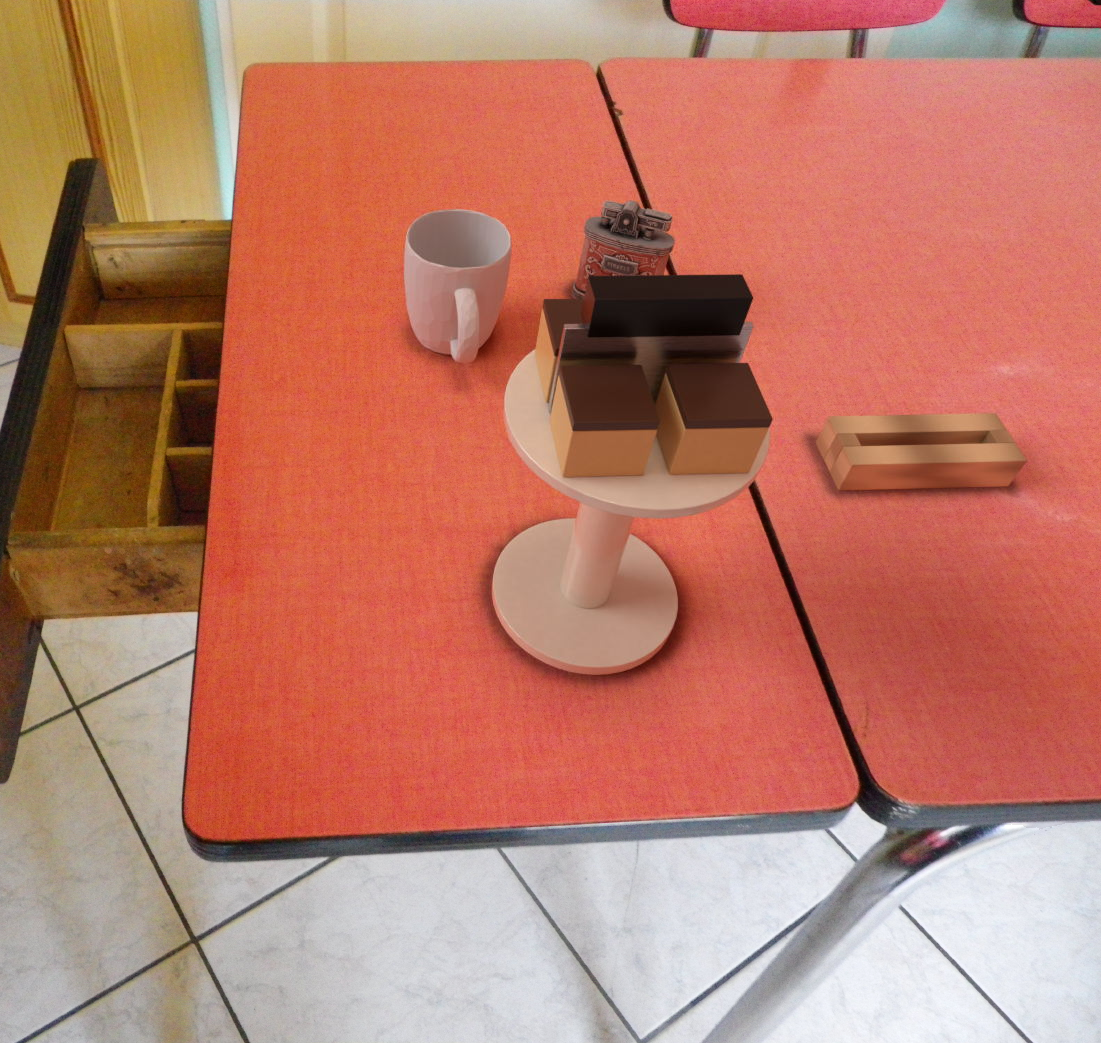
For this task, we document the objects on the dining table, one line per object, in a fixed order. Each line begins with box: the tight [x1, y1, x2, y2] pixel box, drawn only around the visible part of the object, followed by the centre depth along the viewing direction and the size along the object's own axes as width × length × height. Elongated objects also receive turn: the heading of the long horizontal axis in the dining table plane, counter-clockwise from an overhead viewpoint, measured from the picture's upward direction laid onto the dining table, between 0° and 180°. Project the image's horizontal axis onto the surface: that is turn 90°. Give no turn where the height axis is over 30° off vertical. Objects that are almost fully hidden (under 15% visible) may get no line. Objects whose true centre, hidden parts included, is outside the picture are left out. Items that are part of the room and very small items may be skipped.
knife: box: [548, 273, 755, 413], centre depth 51 cm, size 10×2×8 cm, turn 93°
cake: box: [534, 298, 774, 477], centre depth 53 cm, size 10×10×4 cm
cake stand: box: [491, 348, 771, 676], centre depth 61 cm, size 15×15×18 cm
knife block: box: [815, 412, 1028, 491], centre depth 76 cm, size 14×5×3 cm, turn 93°
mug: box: [403, 208, 513, 364], centre depth 82 cm, size 13×9×10 cm
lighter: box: [571, 200, 676, 299], centre depth 87 cm, size 8×3×10 cm, turn 67°
